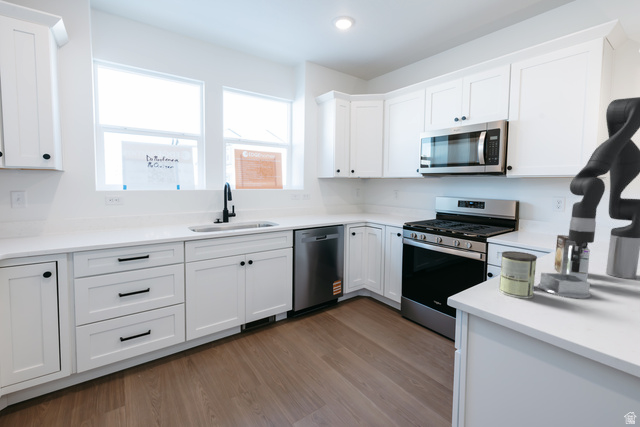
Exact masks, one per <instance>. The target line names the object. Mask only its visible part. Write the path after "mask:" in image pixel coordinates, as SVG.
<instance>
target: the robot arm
mask: <svg viewBox="0 0 640 427" xmlns="http://www.w3.org/2000/svg"><path fill="white" fill-rule="evenodd" d="M605 115H606V116H605V118H606V120H605V121H606V127H607V134H608V138H607V139H606V140H605V141H603V142H602V143H601V144H600V145H599V146H598V147H596V149H595V150H594V151H593V152H592V154H591V156H590V157H589V159H588V161H587V163H586V165H585V166H584V167H583V168H582V169H581V170H579V171H578V173H577V174H576V175H575V176H574V177H573V178H572V180H571V181H570V184H569V190H570V192H571V193H572V195H575V196H581V197H582V199H581V200H580V201H578V202H574V203H573V205H572V209H571V217H570V221H569V229H568V236H569V237H568V239H569V240H570V241H575V245H573V246H572V254H571V261H572V269H571V271H572V272H579V268H580V262H581V258H583V257H584V251H585V250H586V248H588V245H589V244H590V243H591V244H593V243H594V241H595V237H596V236H595V235H596V224H597V222H596V218H597V210H598V209H597V208H598V206H599V205H600V202H601V200H602V197H603V195H604V193H605V191H606V185H605V182H604V181H603V179H602V178H600V176H604V175H606V174H608V173H609V186H610V187H609V200H608V215H609V217H610V219H612V220H618V221H619V220H620V221H629V222H630V221H631V223H630V224H627V225H625V226H620V227H613V228H611V230H610V235H609V247H608V254H607V261H606V262H607V263H606V269H605V270H606V271H605V274H606V275H609V276H613V277H616V278H617V277H618V278H623V279H632V280H633V279H634V280H635V279H636V278H637V274H638V267H639V265H638V264H639V257H640V198H625V197H624V198H622V197H621V195H622V193H623V192H624V190H625V189H626V188H627V186H629V185H630V184H631V183H632V182H633V181H634V180H635V179H636V178H637V177H638V176H639V175H640V148H639V146H638V145H637V144H636V143H635V142H634V141H633V140H632V138H633V137H634V135H635V134H636V133H637V132H638V130H640V96H638V97H628V98H627V97H626V98H619V99H614V100H612V101H611V102H610V103H609V104H608V105H607V108H606V114H605ZM582 249H584V250H583V251H582ZM588 249H589V248H588ZM581 253H582V254H581ZM580 254H581V255H580ZM575 257H577V258H578V259H576V258H575Z"/></svg>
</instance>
